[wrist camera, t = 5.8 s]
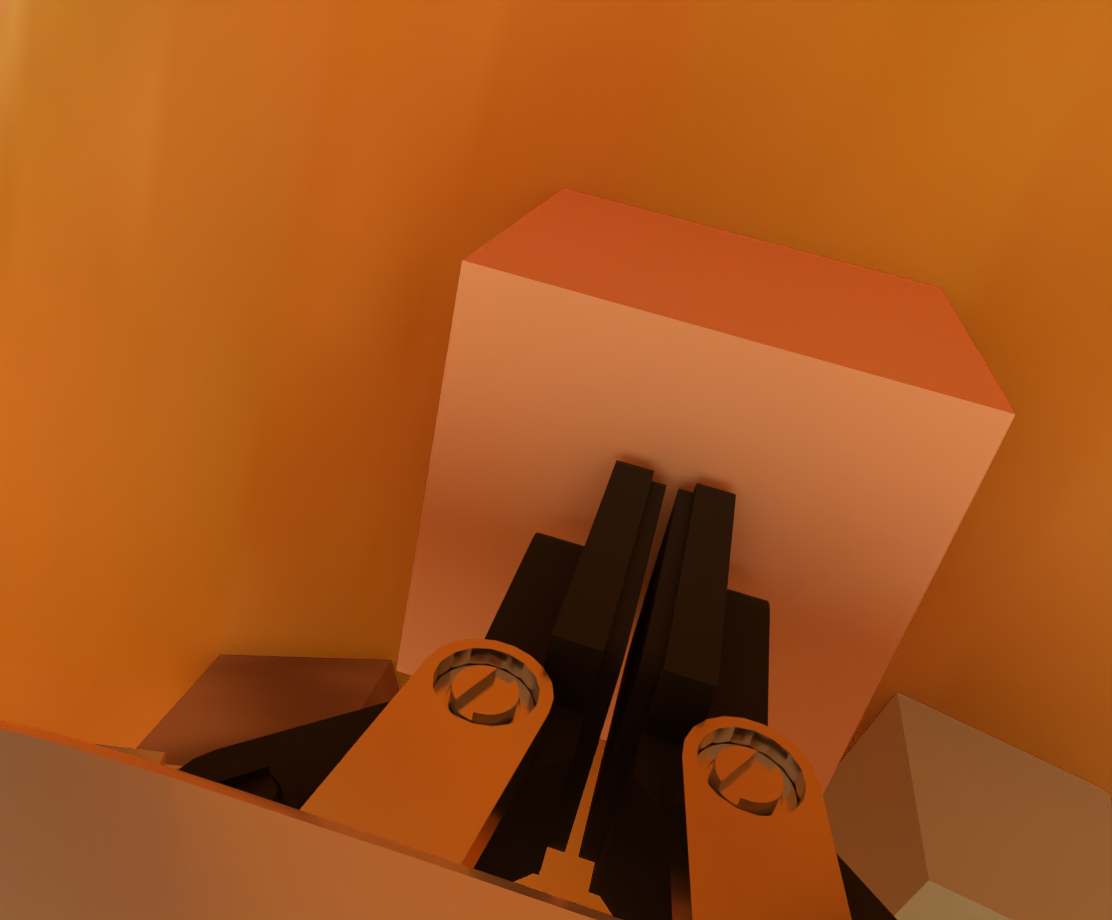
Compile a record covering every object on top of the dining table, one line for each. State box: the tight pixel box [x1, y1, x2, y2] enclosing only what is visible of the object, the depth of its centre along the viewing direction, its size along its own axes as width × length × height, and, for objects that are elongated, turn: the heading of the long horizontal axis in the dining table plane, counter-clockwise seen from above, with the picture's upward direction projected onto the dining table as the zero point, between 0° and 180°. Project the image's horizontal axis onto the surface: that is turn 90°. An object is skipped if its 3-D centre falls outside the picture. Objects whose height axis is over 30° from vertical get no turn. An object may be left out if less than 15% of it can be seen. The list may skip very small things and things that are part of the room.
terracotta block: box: [396, 188, 1016, 794], centre depth 15 cm, size 7×7×6 cm
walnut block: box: [136, 655, 399, 766], centre depth 22 cm, size 5×5×6 cm
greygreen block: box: [823, 692, 1112, 920], centre depth 19 cm, size 5×5×5 cm
